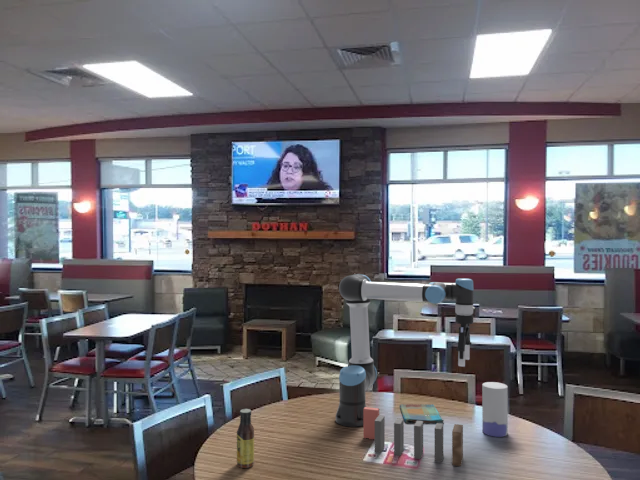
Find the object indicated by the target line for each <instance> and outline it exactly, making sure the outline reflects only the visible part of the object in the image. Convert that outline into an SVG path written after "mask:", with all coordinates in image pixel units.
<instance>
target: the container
mask: <svg viewBox="0 0 640 480" xmlns="http://www.w3.org/2000/svg"><path fill="white" fill-rule="evenodd" d="M481 385H482V391H481V393H482V394H481V395H482V397H481V401H482V403H481V404H482V408H481V409H482V413H481V414H482V419H481V420H482V421H481V422H482V426H481V427H482V433H484V434H485V435H487V436H490V437H497V438H499V437H501V438H503V437H507V435H508V425H509V424H508V422H509V421H508V419H509V418H508V416H509V415H508V414H509V413H508V412H509V410H508V409H509V408H508V407H509V406H508V405H509V404H508V399H509V398H508V394H509V393H508V392H509V391H508V385H507V384H505V383H501V382H496V381H486V382H483V383H482V384H481Z"/></svg>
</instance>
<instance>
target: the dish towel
mask: <svg viewBox="0 0 640 480" xmlns="http://www.w3.org/2000/svg"><path fill="white" fill-rule="evenodd" d="M400 408H401V409H400ZM399 409H400V412H401V415H402V419H404V422H405V423H406V424H415V423H416V421H417V420H418V421H423V423H435V424H434V425H436V424H437V423H442V424H443V425H444V423H445V422H444V420H445V419H443V418H442V415H441V414H440V412H439V411H438V409H437V408H436V406H435V405H434V404H433V403H432V404H428V403H427V404H423V403H422V404H413V403H411V404H404V403H401V404H399ZM425 415H427V416H425ZM428 415H429V416H428Z"/></svg>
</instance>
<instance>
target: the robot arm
mask: <svg viewBox="0 0 640 480" xmlns="http://www.w3.org/2000/svg"><path fill="white" fill-rule="evenodd" d="M338 291H339V294H340V296H341V297H342V298H343V299H344V300H345V304H346V305H347V306H348V307H349V321H350V323H349V325H350V326H349V327H350V343H351V344H350V345H351V346H350V347H351V358H350V359H349V360H348V366H344V367H342V368H341V369H340V371H339V375H338V380H339V381H338V383H339V385H338V387H339V388H338V389H339V391H338V392H339V394H338V395H339V403H338V407H337V410H336V413H335V422H336V423H337V424H338V425H340V426H344V427H351V428H352V427H354V428H356V427H362V426H363V409H364V408H365V407H367V405H366V391H367V390H368V389H370V387H372V386H373V385H374V384H375V382H376V380H377V377H378V376H377V375H378V371H377V368H376V366H375V365H374V359H373V358H372V357H371V351H370V350H371V349H370V346H371V345H370V328H369V310H368V309H369V305H370V304H371V301H372V299H373V300H386V301H387V300H388V301H405V302H421V303H424V302H425V303H431V304H432V305H433V304H440V303H442V302H443V301H444V300H445V301H448V300H449V301H455V306H454V307H455V309H454V311H455V316H454V317H455V323H456V324H459V325H460V326H459V328H458V338H457V339H458V341H457V348H456V352H458V354H457V355H458V356H457V360H458V361H457V365H458V367H463V368H465V367H466V360H467V361H469V360H470V359H471V358H470V357H471V356H470V353H471V352H470V351H471V349H470V347H471V346H470V345H472V342H471V335H470V333H471V332H470V325H471V324H474V315H473V314H474V310H475V309H476V307H475V306H474V297H475V296H474V295H475V294H474V293H475V292H474V291H475V290H474V280H473V279H472V278H456V279H455V282H443V281H442V282H439V281H432V282H429V283H428V284H427V283H426V284H424V283H409V282H408V283H404V282H388V281H387V282H384V281H371V278H369V277H368V276H367V275H365V274H361V273H356V274H350V275H347V276H345V277H343V278H342V279H341V280H340V282H339V286H338Z"/></svg>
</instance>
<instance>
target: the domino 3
mask: <svg viewBox="0 0 640 480" xmlns="http://www.w3.org/2000/svg"><path fill="white" fill-rule="evenodd" d="M423 454H424V424H423V421H418V420H417V421H416V423H414V425H413V458H414V459H418V460H421V459H422V457H423Z"/></svg>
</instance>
